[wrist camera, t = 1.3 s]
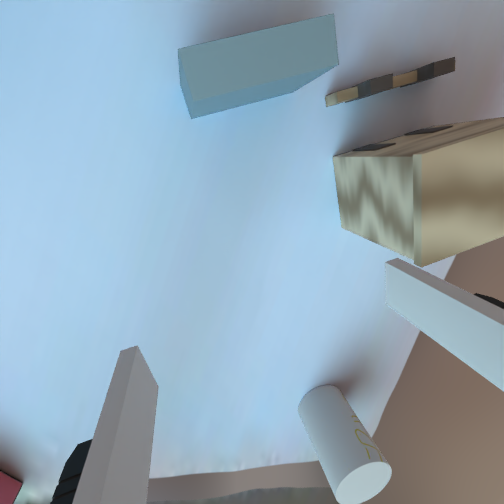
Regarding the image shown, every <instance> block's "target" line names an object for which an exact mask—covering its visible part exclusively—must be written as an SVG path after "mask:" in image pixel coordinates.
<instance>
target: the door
mask: <svg viewBox="0 0 504 504" xmlns="http://www.w3.org/2000/svg"><path fill="white" fill-rule="evenodd" d="M178 59H179V74H180V86H181V89H182V92H183V95H184V98H185V101H186V105H187V108H188V111H189V114H190V117H191V119H193V118H197V117H201V116H205V115H208V114H212V113H216V112H220V111H224V110H227V109H231V108H235V107H239V106H243V105H246V104H250V103H254V102H258V101H262V100H265V99H269V98H273V97H277V96H281V95H284V94H288V93H292V92H294V91H296V90H297V89H299V88H301V87H302V86H304V85H306V84H307V83H309V82H311V81H312V80H314V79H316V78H317V77H319V76H321V75H322V74H324V73H325V72H327V71H329V70H330V69H332V68H334V67H335V66H337V65H339V60H338V50H337V41H336V31H335V22H334V14H329V15H325V16H320V17H316V18H312V19H307V20H303V21H299V22H294V23H290V24H285V25H281V26H277V27H272V28H268V29H263V30H259V31H255V32H250V33H246V34H241V35H237V36H233V37H228V38H224V39H219V40H215V41H211V42H206V43H202V44H197V45H193V46H189V47H184V48H180V49H178Z"/></svg>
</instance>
